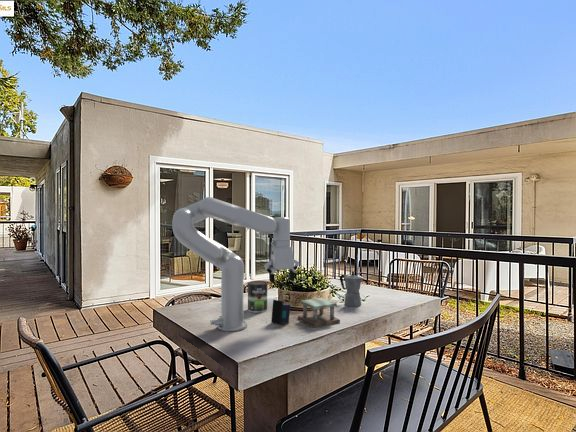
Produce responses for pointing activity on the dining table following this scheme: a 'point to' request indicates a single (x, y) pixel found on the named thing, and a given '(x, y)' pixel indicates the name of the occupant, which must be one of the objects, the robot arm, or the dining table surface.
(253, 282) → the coffee can
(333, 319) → the peg shelf stand
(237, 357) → the dining table surface
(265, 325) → the dining table surface
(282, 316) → the speaker
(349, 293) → the coffeepot
